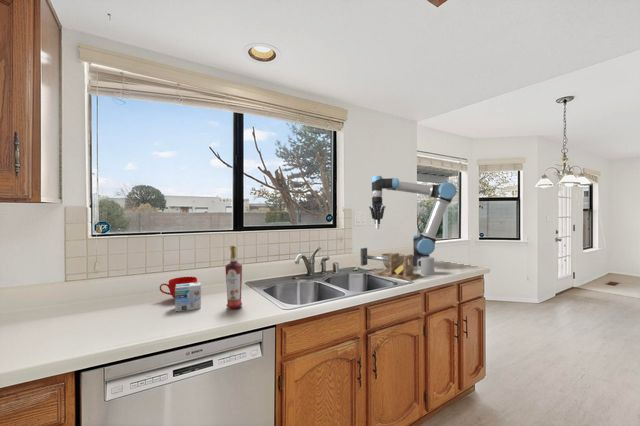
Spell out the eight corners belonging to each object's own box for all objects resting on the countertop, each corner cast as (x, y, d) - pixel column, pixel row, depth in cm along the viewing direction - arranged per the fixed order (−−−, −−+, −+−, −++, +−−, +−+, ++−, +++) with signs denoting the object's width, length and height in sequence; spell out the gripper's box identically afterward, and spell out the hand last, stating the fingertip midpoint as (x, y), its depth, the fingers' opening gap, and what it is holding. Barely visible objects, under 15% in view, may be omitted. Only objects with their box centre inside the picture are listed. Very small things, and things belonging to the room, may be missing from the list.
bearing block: (420, 276, 191) (420, 254, 191) (410, 280, 181) (410, 257, 181) (385, 271, 209) (385, 251, 209) (374, 274, 199) (373, 253, 199)
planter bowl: (409, 270, 213) (409, 254, 213) (394, 273, 204) (393, 257, 204) (392, 266, 226) (392, 252, 226) (377, 269, 217) (376, 254, 217)
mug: (436, 274, 199) (436, 257, 199) (429, 275, 193) (429, 258, 193) (421, 271, 208) (420, 255, 208) (413, 273, 203) (413, 256, 203)
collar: (402, 272, 196) (409, 266, 193) (397, 274, 191) (404, 268, 188) (399, 269, 198) (406, 263, 194) (394, 270, 193) (401, 264, 189)
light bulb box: (175, 312, 130) (174, 287, 130) (175, 307, 136) (175, 284, 136) (201, 308, 134) (201, 284, 134) (200, 304, 140) (200, 281, 140)
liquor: (244, 304, 139) (243, 244, 138) (240, 310, 131) (239, 246, 131) (228, 305, 138) (227, 244, 138) (223, 310, 131) (222, 246, 131)
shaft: (396, 268, 199) (396, 250, 198) (392, 269, 194) (392, 251, 194) (365, 264, 216) (365, 247, 216) (360, 265, 211) (360, 248, 211)
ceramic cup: (160, 298, 150) (160, 279, 150) (197, 294, 157) (196, 275, 157) (158, 306, 139) (158, 284, 138) (198, 301, 146) (197, 280, 145)
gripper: (366, 197, 224) (367, 228, 224) (382, 196, 215) (382, 229, 215) (372, 197, 229) (372, 227, 230) (387, 196, 220) (387, 228, 221)
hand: (377, 228), depth 222 cm, fingers closed
